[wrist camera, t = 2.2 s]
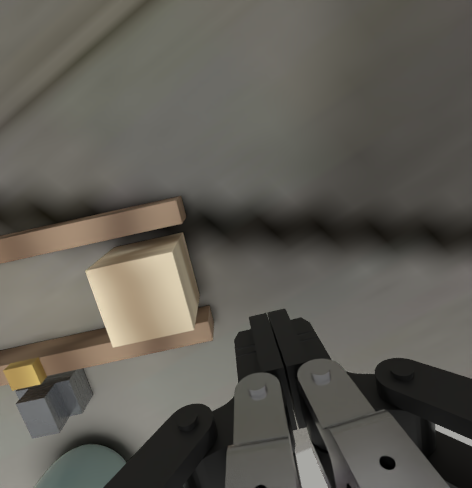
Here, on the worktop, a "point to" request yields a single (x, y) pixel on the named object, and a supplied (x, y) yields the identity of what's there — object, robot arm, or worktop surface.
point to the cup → (83, 468)
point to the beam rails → (97, 341)
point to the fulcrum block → (53, 402)
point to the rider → (145, 290)
